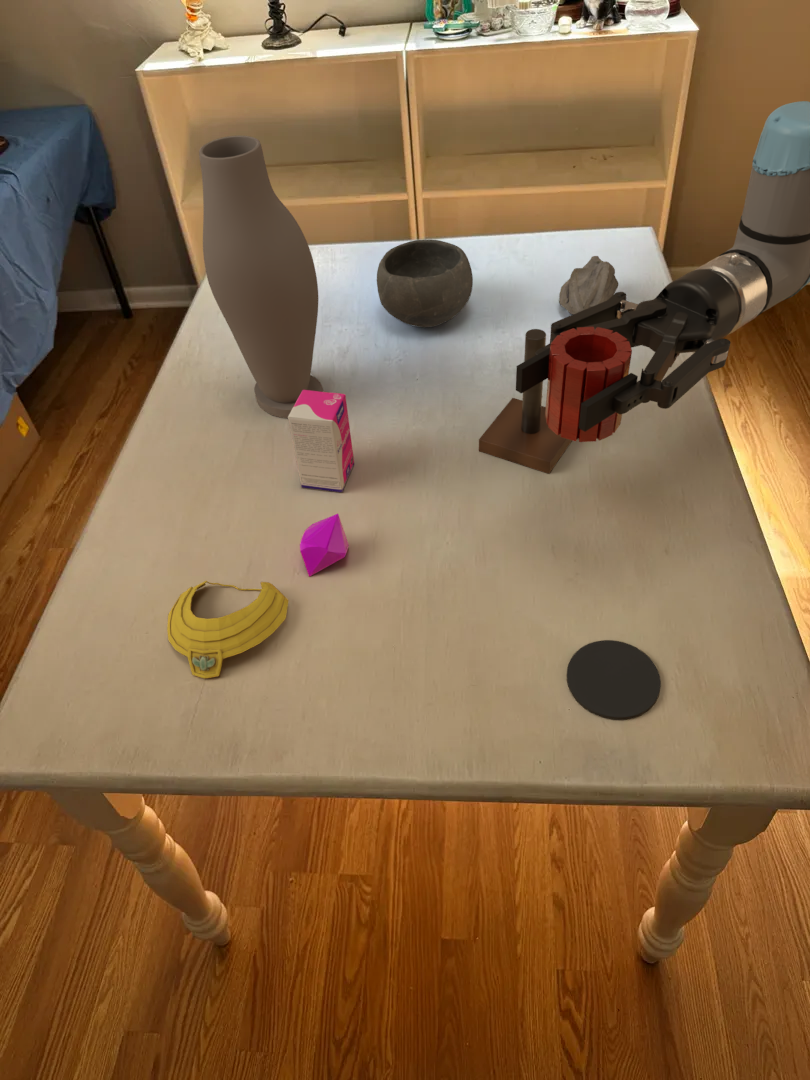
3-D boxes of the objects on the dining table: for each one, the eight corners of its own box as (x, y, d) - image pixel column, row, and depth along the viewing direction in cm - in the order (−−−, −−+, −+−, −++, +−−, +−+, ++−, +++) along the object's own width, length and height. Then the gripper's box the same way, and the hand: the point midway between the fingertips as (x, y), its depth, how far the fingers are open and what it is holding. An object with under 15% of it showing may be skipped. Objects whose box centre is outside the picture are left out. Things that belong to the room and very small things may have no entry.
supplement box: (344, 493, 99) (331, 421, 91) (300, 488, 100) (283, 417, 92) (357, 463, 103) (345, 391, 95) (314, 459, 104) (299, 388, 96)
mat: (672, 664, 78) (673, 661, 78) (641, 735, 73) (642, 732, 73) (587, 630, 82) (587, 627, 82) (551, 695, 77) (552, 692, 76)
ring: (630, 408, 77) (642, 337, 71) (603, 450, 73) (614, 378, 67) (563, 389, 80) (569, 320, 74) (533, 429, 76) (537, 358, 70)
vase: (349, 384, 115) (312, 131, 90) (302, 436, 108) (247, 176, 82) (275, 365, 120) (219, 120, 95) (225, 414, 112) (150, 162, 87)
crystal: (304, 544, 93) (297, 517, 90) (349, 539, 93) (344, 511, 90) (304, 577, 90) (298, 550, 86) (351, 571, 90) (346, 544, 87)
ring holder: (580, 429, 104) (592, 322, 93) (549, 474, 99) (557, 366, 87) (512, 409, 108) (515, 304, 97) (478, 451, 103) (478, 345, 91)
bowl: (459, 346, 120) (457, 286, 113) (368, 336, 124) (361, 277, 117) (482, 297, 129) (482, 239, 122) (397, 289, 133) (392, 232, 126)
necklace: (149, 615, 88) (138, 591, 84) (247, 560, 92) (239, 535, 89) (202, 689, 80) (191, 666, 77) (304, 625, 85) (298, 600, 82)
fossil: (555, 290, 129) (559, 243, 124) (611, 288, 128) (617, 241, 123) (560, 326, 122) (564, 279, 116) (619, 325, 121) (626, 277, 115)
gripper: (635, 237, 83) (474, 319, 74) (810, 306, 71) (645, 414, 62) (626, 301, 88) (475, 385, 79) (787, 375, 77) (632, 483, 68)
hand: (550, 398), depth 71 cm, fingers closed on ring, 7 cm apart
